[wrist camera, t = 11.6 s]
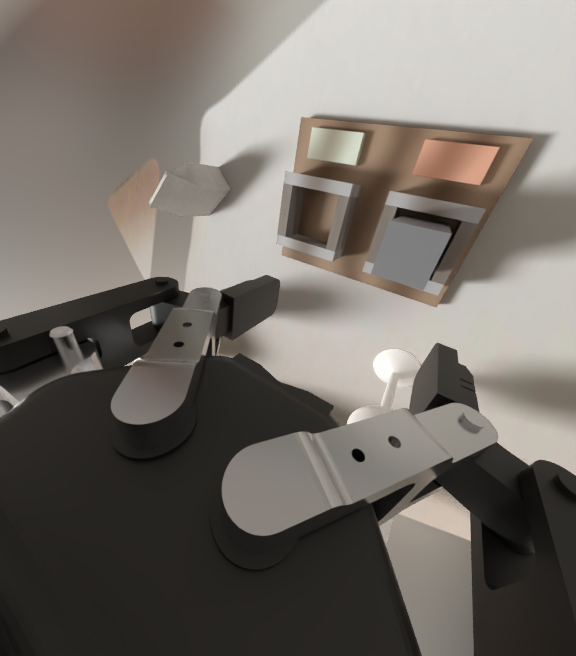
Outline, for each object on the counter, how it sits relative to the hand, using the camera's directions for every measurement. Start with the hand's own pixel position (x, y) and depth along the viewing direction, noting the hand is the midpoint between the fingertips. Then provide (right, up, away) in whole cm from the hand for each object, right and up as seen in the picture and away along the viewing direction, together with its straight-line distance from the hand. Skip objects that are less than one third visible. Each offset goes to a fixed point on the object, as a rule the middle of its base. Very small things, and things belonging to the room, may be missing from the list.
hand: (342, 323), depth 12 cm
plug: (+12, +10, +15) cm, 21 cm away
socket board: (+7, +14, +17) cm, 23 cm away
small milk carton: (-15, +22, +27) cm, 38 cm away
